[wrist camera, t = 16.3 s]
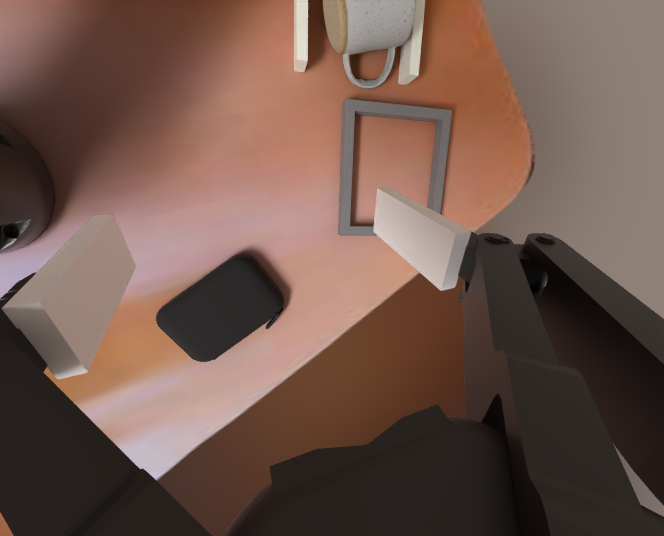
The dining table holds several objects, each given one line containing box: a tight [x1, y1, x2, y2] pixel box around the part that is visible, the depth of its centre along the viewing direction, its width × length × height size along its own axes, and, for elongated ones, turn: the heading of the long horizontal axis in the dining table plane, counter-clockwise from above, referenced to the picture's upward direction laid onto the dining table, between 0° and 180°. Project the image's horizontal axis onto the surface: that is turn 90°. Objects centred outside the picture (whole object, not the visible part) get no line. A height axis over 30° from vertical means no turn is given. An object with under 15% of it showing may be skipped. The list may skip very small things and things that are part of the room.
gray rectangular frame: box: [338, 99, 452, 236], centre depth 38 cm, size 14×16×2 cm
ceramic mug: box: [323, 0, 416, 89], centre depth 30 cm, size 11×8×8 cm
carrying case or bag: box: [156, 254, 284, 362], centre depth 37 cm, size 11×3×15 cm
